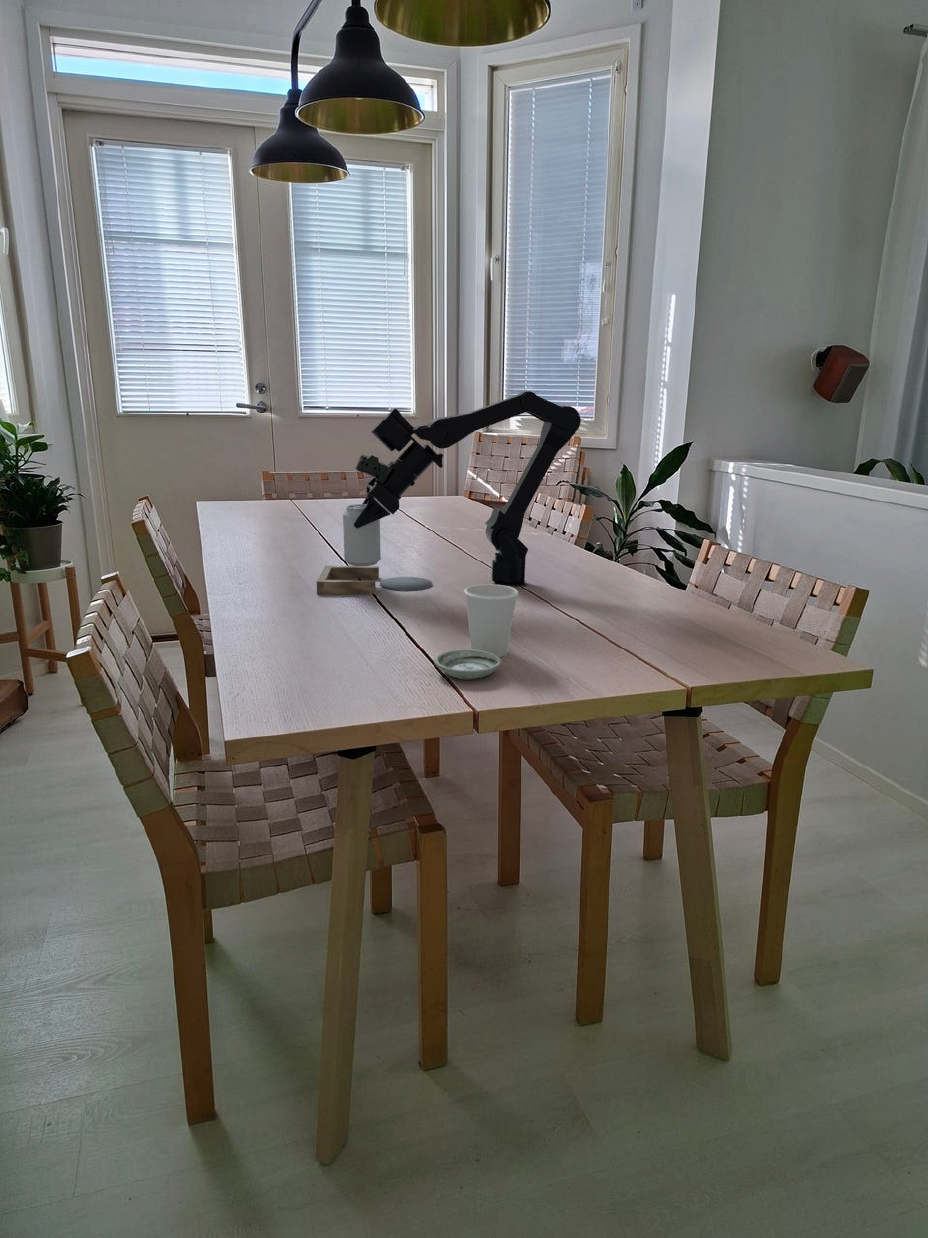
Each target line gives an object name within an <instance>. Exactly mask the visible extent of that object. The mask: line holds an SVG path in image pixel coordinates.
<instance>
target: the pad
mask: <svg viewBox="0 0 928 1238" xmlns="http://www.w3.org/2000/svg"><path fill="white" fill-rule="evenodd" d="M379 586H380V587H381V588H383V589H386V590H391V591H398V590H406V591H405V592H408V591H409V592H411V591H410V590H415V591H421V590H426V589H430V588H432V586H433V582H432V580H430V579H427V578H424V577H423V578H422V577H419V576H418V577H416V576H415V577H414V576H396V577H389V578H388V577H387V578H385V579H382V580H380V581H379Z"/></svg>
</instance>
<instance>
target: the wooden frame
mask: <svg viewBox="0 0 928 1238" xmlns="http://www.w3.org/2000/svg"><path fill="white" fill-rule="evenodd" d="M379 578H380V566H379V565H378V566H377V565H371V566H352V565H325V566H324V567H323V570H322V572H321V573H320V575H319V577H318V579H317V580H316V594H318V595H376V580H379Z"/></svg>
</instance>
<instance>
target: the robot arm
mask: <svg viewBox="0 0 928 1238" xmlns="http://www.w3.org/2000/svg"><path fill="white" fill-rule="evenodd" d="M525 413H526V414H529V415H531V416H532V417H534V418H535V419H537V420H540V421H541V422H543V425H542V427H541V432H540V437H539V441H538V444H537V446H536V448H535V450H534V452H533V453H532V456H531V458H530V459H529V461H528V463H527V465H526V466H525V468H524V470H523V473H522V474H521V476H520V478H519V480H518V481H517V483H516V486H515V488H514V489H513V491H512V493H511V495H510V497H509V499H508V501H506V503H505V504H504V505H503V506H502V507H501V508H500V509H499V508H497V507H496V506H495V507H493V509H492V511H491V513H490V517H489V518H488V519H487V521H485V523H484V524H485V525H486V528H485V534H486V538H487V540H488V541H489V543H491V545H492V546H493V547H494V549H495V551H496V552H495V553H494V559H492V560H491V581H492V582H493V583H494V584H495V585H504V586H509V587H513V586H514V587H520V586H521V587H525V586H527V583H526V581H525V579H526V560H527V559H526V556H527V553H528V552H529V548H528V547H527V546H526V545H525V544H524V543H523V542H522V541H521V540H520V539H519V537H520V534H521V531H522V528H523V524H524V519H525V514H526V512H527V509H528V507H529V506H530V505H531V502H532V501H533V499H534V497H535V495H536V493H537V491H538V489H539V487H540V485H541V483H542V482H543V480H544V478H545V476H546V474H547V473H548V471H549V468H551V465H552V463H553V462H554V460H555V457H556V456H557V454H558V453H559V452H560V450H562V448H564V447H565V445H566V444H568V443H569V441H570V440H571V439H572V438H573V436H574V435H575V434H576V433H577V431H578V430H579V428H580V426H581V423H582V419H581V416H580V413H579V411H578V410H577V409H576V408H575V407H573V406H570V405H558V404H556V403H555V402H552V401H550V400H548V399H545V398H543V397H541V396H539V395H537V394H536V393H535V392H533V391H529V390H528V391H527V390H524V391H521V392H519V393H517V394H515V395H513V396H511V397H508V398H505V399H503V400H499V401H497V402H494V403H491V404H489V405H486V406H483V407H480V408H478V409H475V410H473V411H470V412H466V413H462V414H453V415H449V416H447V415H446V416H442V417H437V418H434V419H432V420H430V422H429V423H428V424H426V425H416V426H413V425H412V424H411V423H410V422H409V421H408V420H407V419H406V418H404V416H403V415H402V413H401V412H400V410H398V409H397V408H393V409H392V410H391V411H390V412H389V413H388V414H386V416H385V417H384V418H381V419H380V421H378V422H377V424H376V425H375V426H374V427H373V428H372V429H371V431H370V433H371V434H372V435H373V436H374V437H376V439H377V440H378V441H380V443H382V444H383V446H384V447H386V448H387V449H388V451H390V452H391V453H392V452H394V451H397V452H398V453H399V452H401V451H402V450H403V449H404V448H406V446H407V445H408V444H409V442H410V441H411V444H409V446H407V448H406V449H405V450H403V452H402V453H401V454H400V455H398V457H397V458H396V459H395V460H392V461H391V460H390V462H389V463H387V464H386V463H383V462H382V461H380V459H379V457H378V456H375V455H373V454H370V455H369V456H368V455H366V454H364V453H361V454H360V456H359V459H358V461H357V464H356V466H355V470H356V471H358V472H360V473H364V474H367V475H370V476H371V478H370V479H369V480H368V481H367V485H366V497H365V498H364V500H363V502H362V503H361V504H367V505H366V506H365V508H364V509H363V511H362V512H361V514H360V515H359V517H358V518H357V520H356V521H355V523H354V527H356V528H357V529H358V528H360V527H362V526H365V525H367V524H369V523H371V522H374V521H376V520H378V519H380V520H381V519H382V518H386V517H388V516H391V515H394V514H395V513H396V512H397V511H398V510H399V509H400V500H401V499H402V497H401V496H403V495H404V493H406V491H408V489H409V488H410V487H413V486H414V485H415V484H416V480H419V478H420V477H421V476H422V475H423V473H425V471H427V469H429V467H430V466H431V465H432V464H433V463H434V464H435V465H436V466H438V467H439V468H440V469H443V467H444V465H443V459H444V458H443V457H444V454H443V453H441V452H440V453H439V452H438V453H437V452H436V451H435V450H434V449H433V448H432V447H431V446H430V445H429V444H427V443H425V444H424V445H421V444H420V443H419V442H418V441H417V440H416V439H415V438H414V437H413V435H415V436H416V437H417V438H418V439H420V440H422V441H427V442H429V443H430V444H431V445H432V446H434V447H435V448H437V449H443V450H444V449H447V448H448V449H449V448H450V447H452V446H453V445H455V444H457V443H458V442H461V441H462V440H463V439H466V437H468V436H470V435H472V433H474V432H477V431H478V430H482V429H484V428H487V427H489V426H490V427H491V426H492V425H495V424H498V423H501V422H503V421H506V420H509V419H511V418H514V417H517V416H520V415H522V414H525ZM370 486H371V487H370Z"/></svg>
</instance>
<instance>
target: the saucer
mask: <svg viewBox="0 0 928 1238" xmlns="http://www.w3.org/2000/svg"><path fill="white" fill-rule="evenodd" d="M433 662H434V665H435V666H436V667H438V668H439V670H441V671H442V672H444V674H446V675H448V676H451V677H453V678H456V679H458V678H461V679H460V680H465V679H472V680H476V679H475V678H479V679H482V678H483V677H485V676H488V675H490V674H492V673H494V672H495V670H497V669H498V668H499V667H500V666H501V664H502V659H501V658H500V657H498V656H497V655H495V654H493V653H490V652H487V651H483V650H476V649H471V648H460V649H456V648H455V649H452V650H451V649H450V650H445V651H443V652H441V653H439V654H437V655H436V656H435V657H434V661H433Z"/></svg>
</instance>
